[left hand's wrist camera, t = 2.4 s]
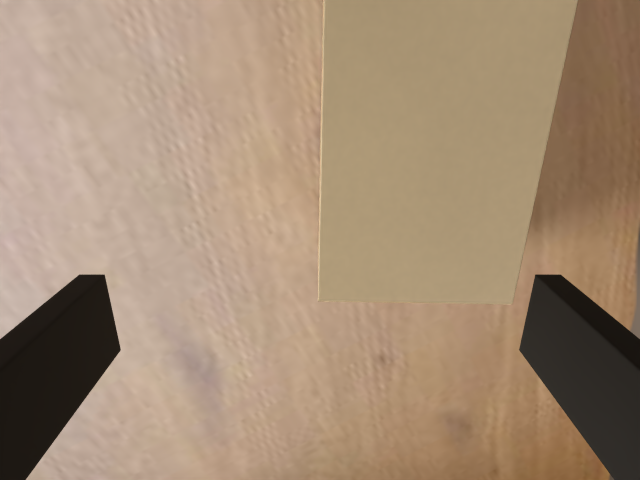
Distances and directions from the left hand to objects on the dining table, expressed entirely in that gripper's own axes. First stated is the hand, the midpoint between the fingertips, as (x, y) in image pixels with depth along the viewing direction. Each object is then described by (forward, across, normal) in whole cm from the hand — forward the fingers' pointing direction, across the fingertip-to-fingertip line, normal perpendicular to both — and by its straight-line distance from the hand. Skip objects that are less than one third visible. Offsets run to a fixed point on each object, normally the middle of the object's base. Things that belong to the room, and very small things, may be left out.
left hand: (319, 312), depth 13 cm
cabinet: (+18, -6, -4) cm, 19 cm away
